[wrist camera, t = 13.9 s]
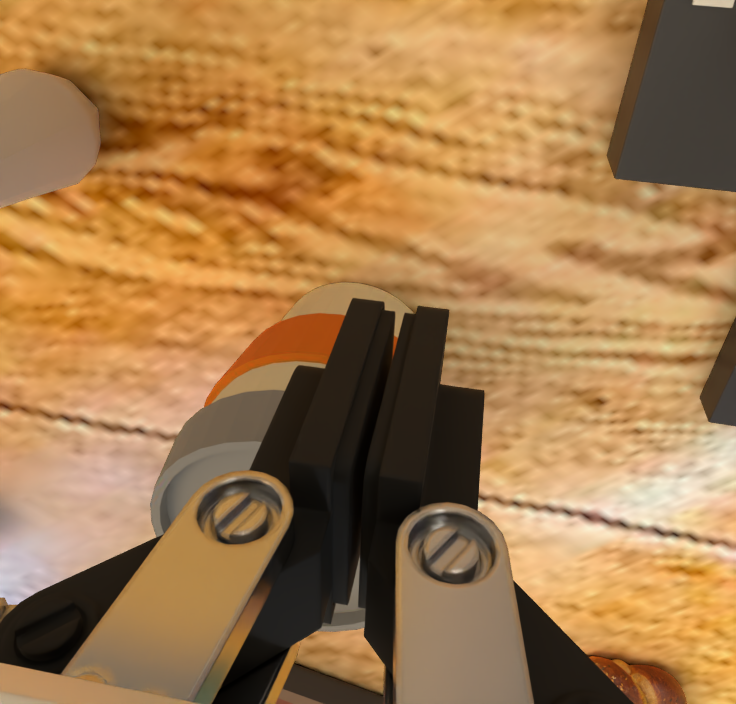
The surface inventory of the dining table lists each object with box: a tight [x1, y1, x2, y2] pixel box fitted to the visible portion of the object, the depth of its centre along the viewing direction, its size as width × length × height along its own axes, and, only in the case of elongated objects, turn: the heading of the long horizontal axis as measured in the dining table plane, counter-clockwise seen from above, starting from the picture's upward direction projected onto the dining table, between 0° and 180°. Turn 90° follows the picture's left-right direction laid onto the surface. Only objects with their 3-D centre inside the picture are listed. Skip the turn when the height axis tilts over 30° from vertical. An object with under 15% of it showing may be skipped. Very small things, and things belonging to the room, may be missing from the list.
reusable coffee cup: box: [150, 282, 414, 632], centre depth 34 cm, size 12×12×15 cm
